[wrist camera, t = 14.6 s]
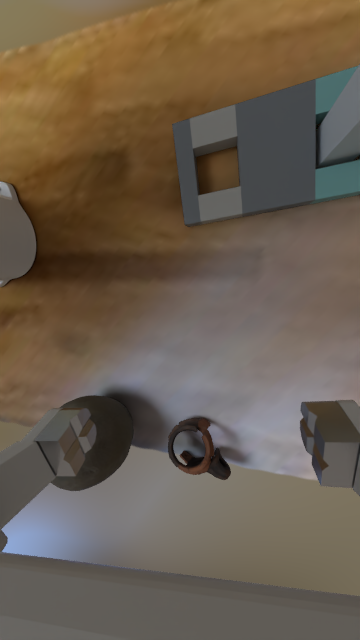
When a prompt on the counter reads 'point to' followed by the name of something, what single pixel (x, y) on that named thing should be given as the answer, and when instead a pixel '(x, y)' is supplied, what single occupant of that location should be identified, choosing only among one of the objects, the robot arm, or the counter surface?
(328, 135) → the plug
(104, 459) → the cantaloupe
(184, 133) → the panel
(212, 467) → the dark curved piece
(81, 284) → the counter surface
